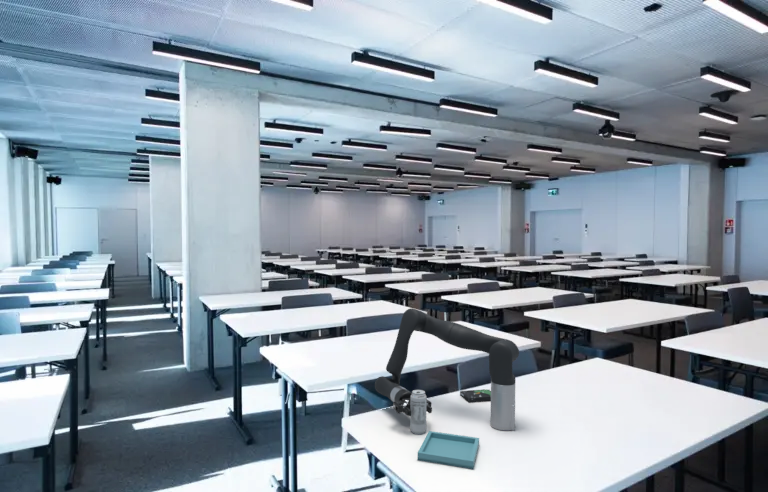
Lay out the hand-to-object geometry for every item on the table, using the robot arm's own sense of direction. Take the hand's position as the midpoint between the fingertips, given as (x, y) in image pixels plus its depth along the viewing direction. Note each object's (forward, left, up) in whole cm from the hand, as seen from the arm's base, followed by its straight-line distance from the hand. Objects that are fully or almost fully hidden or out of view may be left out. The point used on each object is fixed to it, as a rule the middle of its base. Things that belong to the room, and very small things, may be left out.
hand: (420, 412), depth 167 cm
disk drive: (-17, -47, -9) cm, 51 cm away
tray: (-13, +12, -8) cm, 19 cm away
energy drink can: (+1, -1, -8) cm, 8 cm away
